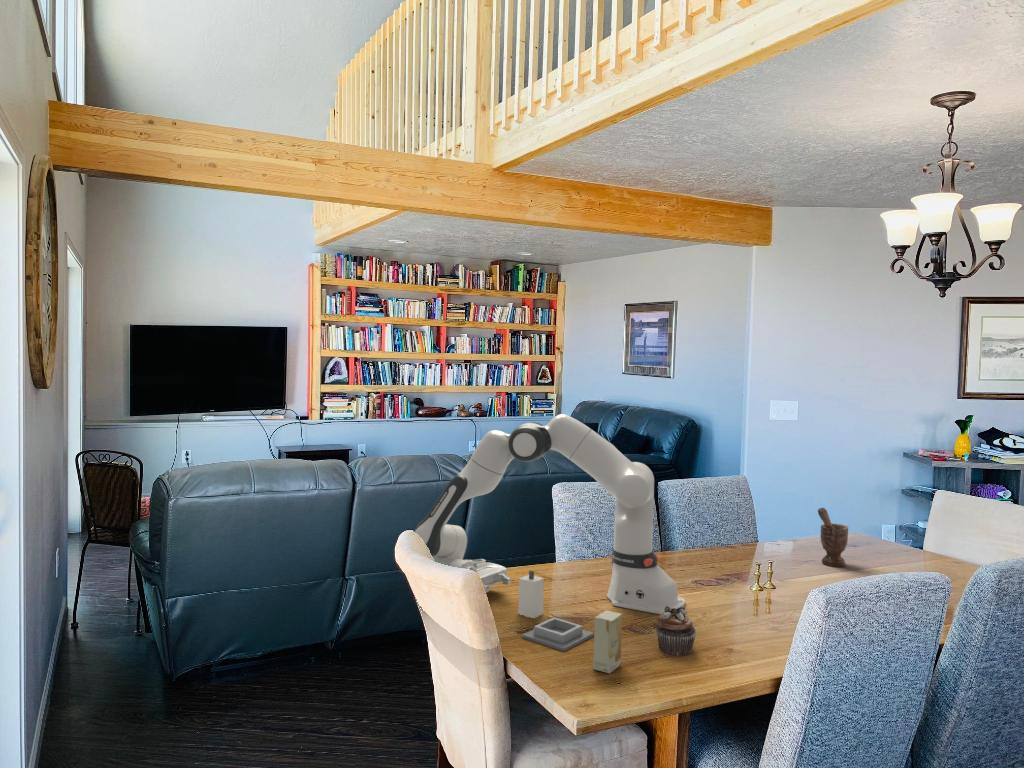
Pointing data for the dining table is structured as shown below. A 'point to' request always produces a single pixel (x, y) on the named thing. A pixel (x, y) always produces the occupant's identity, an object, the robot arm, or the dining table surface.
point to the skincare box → (607, 641)
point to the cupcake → (675, 632)
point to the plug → (531, 595)
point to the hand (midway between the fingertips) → (498, 585)
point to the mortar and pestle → (832, 540)
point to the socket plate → (558, 634)
